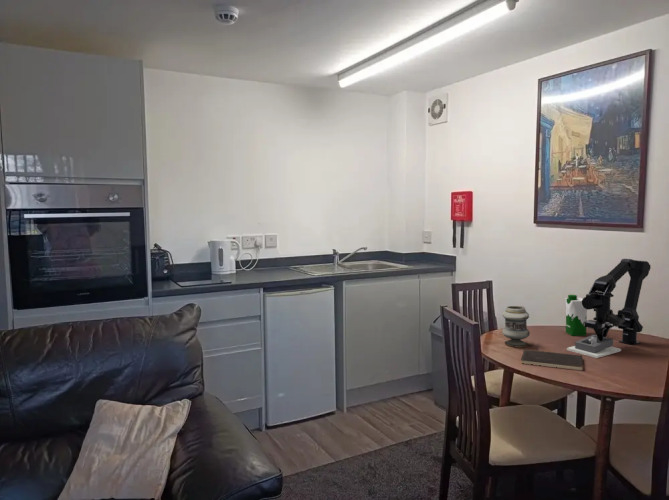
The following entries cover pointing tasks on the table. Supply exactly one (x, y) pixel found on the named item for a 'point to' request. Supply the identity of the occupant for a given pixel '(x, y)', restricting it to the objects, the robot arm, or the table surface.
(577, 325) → the milk carton
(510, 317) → the apothecary jar
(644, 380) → the table surface
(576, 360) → the hardcover book
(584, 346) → the grey rectangular frame
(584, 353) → the hook board
